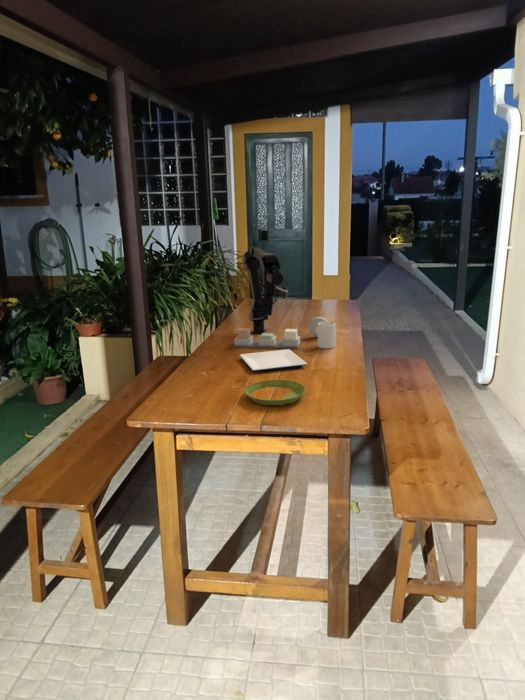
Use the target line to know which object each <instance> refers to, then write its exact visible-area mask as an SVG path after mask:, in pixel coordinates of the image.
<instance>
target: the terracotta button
mask: <svg viewBox="0 0 525 700" xmlns="http://www.w3.org/2000/svg"><path fill="white" fill-rule="evenodd" d="M250 335H251V328H250V327H249V328H248V327H238V329H237V330H236V337H237V338H246V339H248V338H249V337H250Z"/></svg>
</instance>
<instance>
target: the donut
mask: <svg viewBox="0 0 525 700" xmlns="http://www.w3.org/2000/svg"><path fill="white" fill-rule="evenodd" d="M326 321H328V320H327V319H326V318H325V317H322V316H317V317H314V318H312V319H311V320H310V321H309V323H308V332H309V333H310V334H311V335H312V336H313V337H315V338H318V328H317V327H316V326H318V323H319V322H326Z"/></svg>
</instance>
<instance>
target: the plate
mask: <svg viewBox="0 0 525 700" xmlns="http://www.w3.org/2000/svg"><path fill="white" fill-rule="evenodd" d="M239 356H240V358H241V359H242V360H243V361H244V362H245V363H246V365H248V367H249V368H250V369H251V370H252V371H253V372H255V371H256V372H257V371H258V372H259V371H266V370H275V369H281V368H282V369H283V368H292V367H300V366H301V367H302V366H307V364H308V363H307V362H306V361H305V360H304V359H302V358H301V357H300V356H298V355H297V354H296V353H294V351H292V349H277V350H268V351H262V352H261V351H259V352H251V353H249V352H248V353H240V354H239Z"/></svg>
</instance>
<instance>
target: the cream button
mask: <svg viewBox="0 0 525 700" xmlns="http://www.w3.org/2000/svg"><path fill="white" fill-rule="evenodd" d="M284 336H285V339H294V340H296V339H297V336H298V328H285V330H284Z"/></svg>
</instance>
